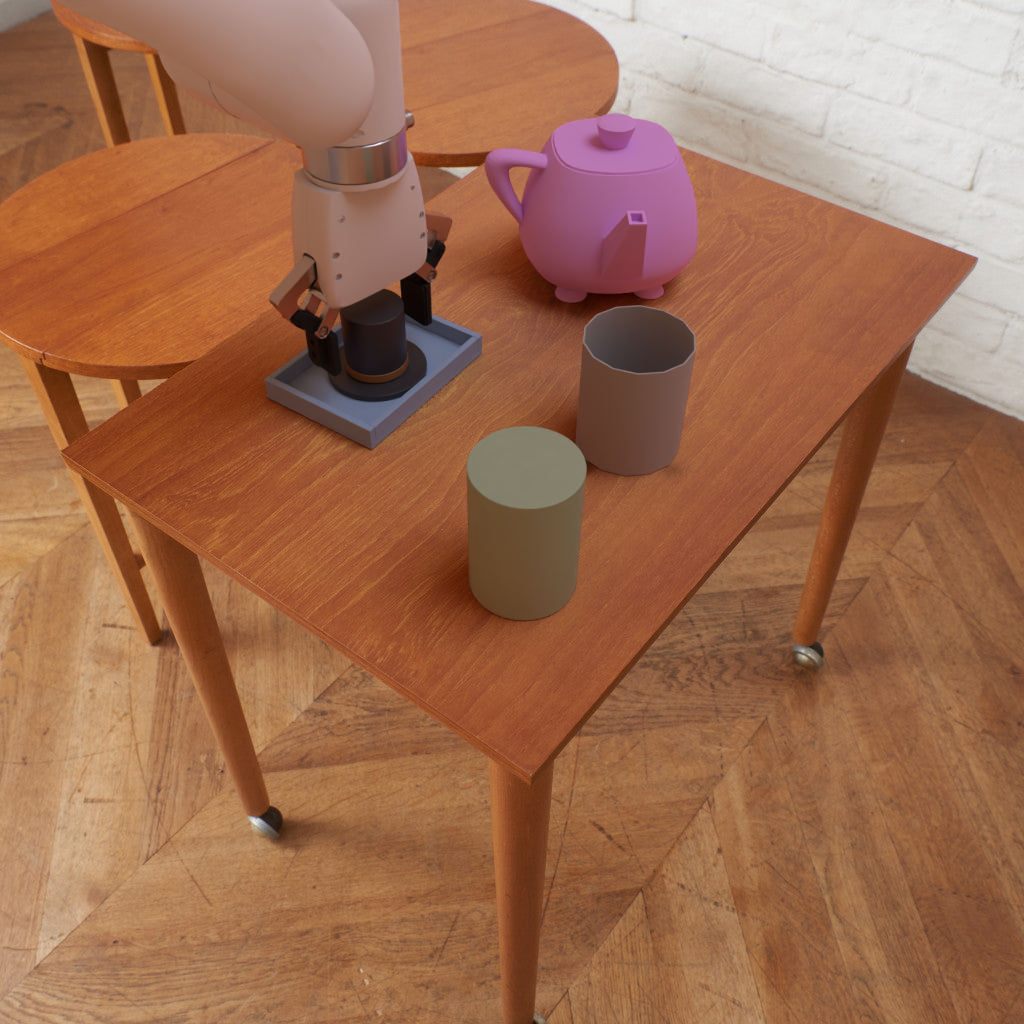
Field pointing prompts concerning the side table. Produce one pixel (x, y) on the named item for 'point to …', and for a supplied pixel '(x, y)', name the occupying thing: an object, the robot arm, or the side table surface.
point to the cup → (633, 389)
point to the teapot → (602, 207)
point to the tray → (374, 421)
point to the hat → (377, 350)
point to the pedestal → (524, 521)
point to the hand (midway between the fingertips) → (373, 342)
